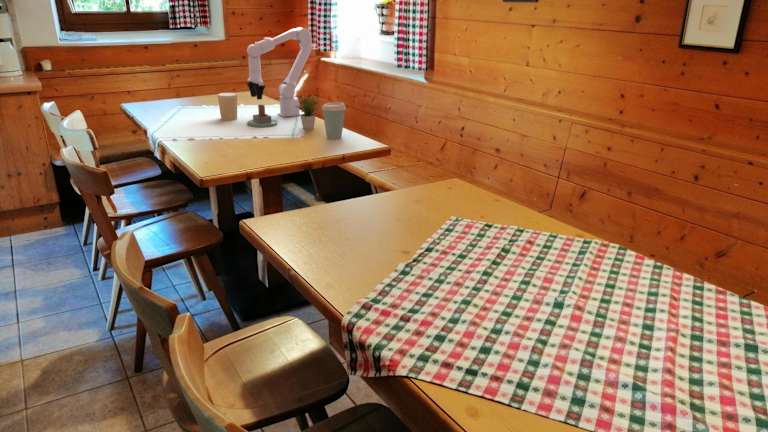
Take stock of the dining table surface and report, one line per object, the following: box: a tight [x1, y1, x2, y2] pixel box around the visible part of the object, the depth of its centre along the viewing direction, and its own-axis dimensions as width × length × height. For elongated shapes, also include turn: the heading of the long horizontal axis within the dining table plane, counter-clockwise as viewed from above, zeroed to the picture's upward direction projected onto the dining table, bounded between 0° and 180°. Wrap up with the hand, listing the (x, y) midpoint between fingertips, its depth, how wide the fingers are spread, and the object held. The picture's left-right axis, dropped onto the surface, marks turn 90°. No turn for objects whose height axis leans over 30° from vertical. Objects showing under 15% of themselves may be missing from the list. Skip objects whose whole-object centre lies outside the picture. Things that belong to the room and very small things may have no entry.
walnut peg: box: [257, 104, 266, 117], centre depth 268 cm, size 3×3×8 cm
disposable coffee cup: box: [321, 101, 347, 140], centre depth 247 cm, size 11×11×15 cm
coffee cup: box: [217, 92, 238, 121], centre depth 276 cm, size 9×9×12 cm
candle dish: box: [247, 113, 278, 128], centre depth 269 cm, size 14×14×4 cm
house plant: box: [295, 94, 323, 131], centre depth 260 cm, size 14×14×16 cm
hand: (256, 98), depth 281 cm, fingers open, 7 cm apart
